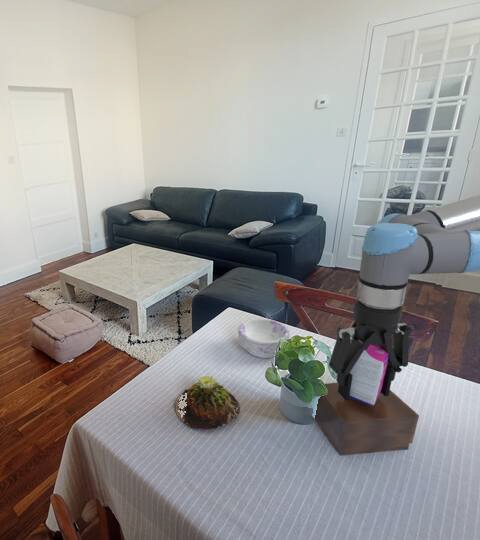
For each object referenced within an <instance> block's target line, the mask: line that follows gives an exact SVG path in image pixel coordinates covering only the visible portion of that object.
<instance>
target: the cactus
mask: <svg viewBox="0 0 480 540" xmlns="http://www.w3.org/2000/svg"><path fill="white" fill-rule="evenodd" d="M191 385H192V386H189V388H188V389H184V391H183V392H182V393H181V394H183V395H185V393H187V399H186V400H185V402H187V403H186V404H187V406H186V407H185V406H184V408H183V409H181V408H179V406H178V405H179V404H180V403H179V402H180V401H181V400H180V401H179V399H180V398H179V397H178V398H179V399H178V398H177V399H176V400H175V405H174V407H175V412H176V413H175V414H176V416H177V417H178V418H179V419H180V421H181V422H182V423H184V424H185V425H187V426H188V428H191V429H193V430H194V429H195V430H196V429H198V430H213V429H218V428H219V427H224V426H226V425H228V424H230V423H232V422H233V421H234V420H236V419H237V418H238V417H239V416H240V411H241V406H240V403H239V402H238V400H237V399H236V397H235V396H234V394H232V393H231V392H230V391H229V390H228V389H227V388H226V387H224V384H220V382H219V381H217V379H216V378H214V377H213V376H210V375H204V376H203V377H200V378H199V379H198V380H197V382H195V383H193V384H191ZM183 398H185V396H183ZM183 400H184V399H182V401H183ZM178 403H179V404H178ZM178 410H180V411H181V410H182V411H183V412H184V411H186V413H184V414H185V415H183V417H182V418H181V414H180V413H179V412H178Z"/></svg>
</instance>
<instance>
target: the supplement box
mask: <svg viewBox="0 0 480 540" xmlns="http://www.w3.org/2000/svg"><path fill="white" fill-rule="evenodd" d="M360 342H361V341H360ZM361 343H362V342H361ZM387 363H388V353H387V352H385V351H384V350H383V349H381V348H380V347H379V346H375V345H374V344H372V345H370V346H369V347H368V349H367V350H364V351H363V353H362V354H361V356H360V357H359V359H358V360H357V362H356V363H355V365H354V367H353V368H352V370H351V371H350V373H351V374H352V375H353V377H352V383H351V389H350V396H349V397H350V398H352V399H355V400H357V401H360V402H362V403H365V404H367V405H369V406H372V407H373V406H374V404H375V402H376V400H377V398H378V397H379V395H380V394H381V390H382V385H383V381H384V376H385V372H386V367H387Z"/></svg>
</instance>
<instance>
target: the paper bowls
mask: <svg viewBox="0 0 480 540" xmlns="http://www.w3.org/2000/svg"><path fill="white" fill-rule="evenodd" d="M283 338H284V339H289V340H290V330H289V329H288V327H287V326H286V325H285V324H283V323H281V322H279V321H277V320H273V319H268V318H253V319H248V320H246V321H244V322H241V324H240V325H239V326H238V343H239V345H240V346H241V347H242V348H243V349H244V350H245V351H247V352H248V353H250V355H252V356H254V357H257V358H262V359H271V358H274V355H275V351H276V347H277V344H278V342H279V340H280V339H283Z"/></svg>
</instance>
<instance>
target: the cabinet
mask: <svg viewBox="0 0 480 540" xmlns="http://www.w3.org/2000/svg"><path fill="white" fill-rule="evenodd" d="M324 384H325V386H326V387H327V389H328V394H327V395H324V396H321V397H320V398H319V399H318V404H317V410H316V415H315V420H314V422H315V423H316V424H317V426H318V427H319V428H320V430H321V431H322V432H323V434H324V435H325V437H326V438H327V439H328V441H329V442H330V444H331V445H332V447H333V448H334V449H335V451H336V452H337V453H338V455H339V456H350V455H351V456H352V455H361V454H363V455H364V454H373V453H382V452H394V451H404V450H409V446H410V444H411V443H410V439H411V435H412V431H413V427H414V423H415V419H416V414H415V413H414V412H413V411H414V410H413V409H412V408H411V409H412V410H413V411H412V410H411V409H409V408H408V407H407V406H406V405H405V404H404V403H405V402H404V401H403V400H402V401H403V402H404V403H403V402H402V401H400V400H399V399H398V398H397V397H396V396H395V395H396V394H395V393H394V392H393V393H394V394H395V395H394V394H393V393H391V392H390V391H389V396H384V395H383V394H382V393H381V394H380V395H379V397H378V398H377V400H376V402H375V404H374V406H373V407H372V406H369V405H367V404H365V403H362V402H360V401H357V400H355V399H352V398H350V397H349V400H345V399H344V398H343V397H342V396H341V395H340V394H339V393H338V386H339V384H338V382H337V381H336V382H329V383H324ZM409 443H410V444H409Z"/></svg>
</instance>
